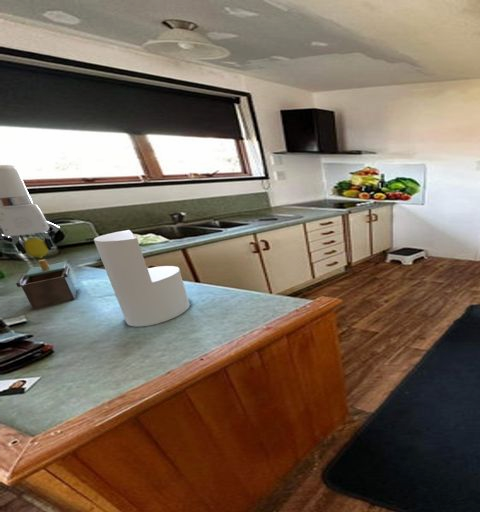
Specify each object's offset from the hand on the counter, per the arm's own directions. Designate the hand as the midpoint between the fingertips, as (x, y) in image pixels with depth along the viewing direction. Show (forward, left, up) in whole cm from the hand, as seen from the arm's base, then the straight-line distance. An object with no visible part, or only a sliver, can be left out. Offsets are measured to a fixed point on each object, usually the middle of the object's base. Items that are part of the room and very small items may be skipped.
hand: (37, 250), depth 101 cm
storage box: (-1, -3, -19) cm, 20 cm away
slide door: (-1, +7, -9) cm, 12 cm away
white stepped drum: (+26, -46, -19) cm, 56 cm away
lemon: (0, 0, -3) cm, 3 cm away
